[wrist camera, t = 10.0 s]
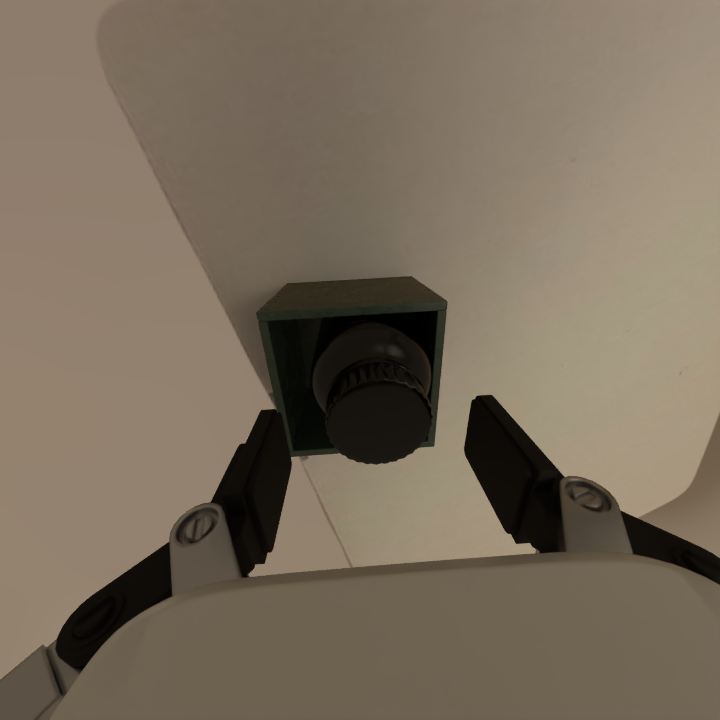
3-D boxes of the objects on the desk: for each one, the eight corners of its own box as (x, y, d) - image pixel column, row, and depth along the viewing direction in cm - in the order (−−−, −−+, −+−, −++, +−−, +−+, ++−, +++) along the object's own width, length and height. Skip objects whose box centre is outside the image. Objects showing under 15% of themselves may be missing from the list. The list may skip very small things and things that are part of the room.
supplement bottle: (353, 270, 21) (373, 318, 10) (418, 323, 23) (492, 410, 12) (301, 339, 23) (271, 441, 12) (365, 381, 25) (389, 499, 14)
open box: (287, 283, 22) (255, 312, 14) (411, 276, 22) (447, 301, 14) (304, 390, 26) (287, 457, 18) (408, 383, 26) (434, 446, 19)
